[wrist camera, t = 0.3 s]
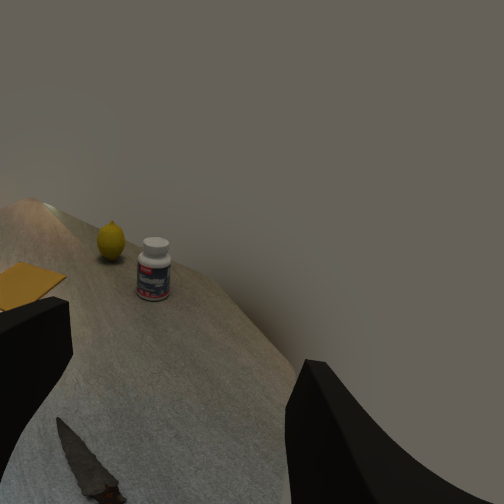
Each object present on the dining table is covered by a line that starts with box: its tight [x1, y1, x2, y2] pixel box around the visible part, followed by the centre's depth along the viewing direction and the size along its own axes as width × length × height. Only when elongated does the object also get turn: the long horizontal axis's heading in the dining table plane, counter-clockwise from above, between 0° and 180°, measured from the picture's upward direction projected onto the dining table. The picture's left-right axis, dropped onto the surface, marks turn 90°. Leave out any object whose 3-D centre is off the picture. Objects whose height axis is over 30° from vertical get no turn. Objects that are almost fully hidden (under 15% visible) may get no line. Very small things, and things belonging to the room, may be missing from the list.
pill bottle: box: [137, 237, 171, 301], centre depth 47 cm, size 5×5×9 cm
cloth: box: [0, 262, 66, 311], centre depth 40 cm, size 14×12×1 cm
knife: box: [56, 417, 127, 504], centre depth 18 cm, size 17×2×5 cm
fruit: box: [97, 221, 125, 261], centre depth 55 cm, size 6×6×8 cm
